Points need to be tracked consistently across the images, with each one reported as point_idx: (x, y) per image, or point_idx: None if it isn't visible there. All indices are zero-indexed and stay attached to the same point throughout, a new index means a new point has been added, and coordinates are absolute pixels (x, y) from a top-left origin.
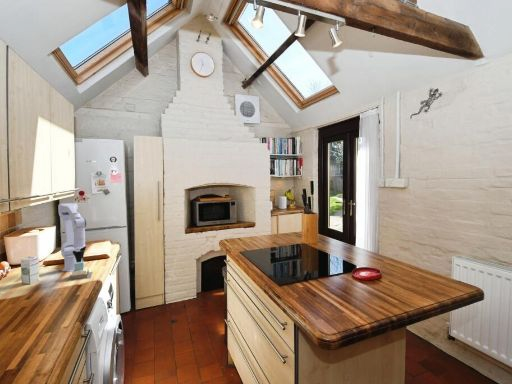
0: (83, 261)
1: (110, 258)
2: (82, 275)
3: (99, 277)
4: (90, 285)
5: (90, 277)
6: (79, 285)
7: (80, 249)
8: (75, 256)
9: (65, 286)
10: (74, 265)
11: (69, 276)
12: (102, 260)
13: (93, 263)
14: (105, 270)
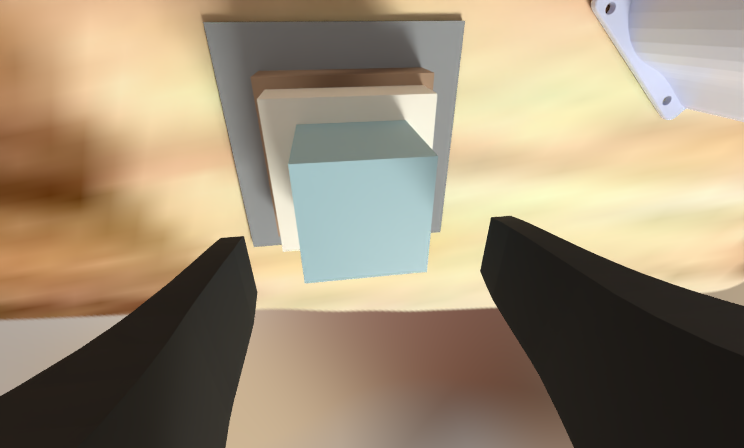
0: (395, 269)
1: (729, 286)
2: (272, 194)
3: (271, 297)
4: (69, 273)
5: (277, 242)
6: (73, 188)
7: (645, 440)
8: (96, 351)
9: (42, 44)
10: (290, 154)
11: (394, 24)
12: (730, 242)
13: (708, 189)
14: (436, 304)
